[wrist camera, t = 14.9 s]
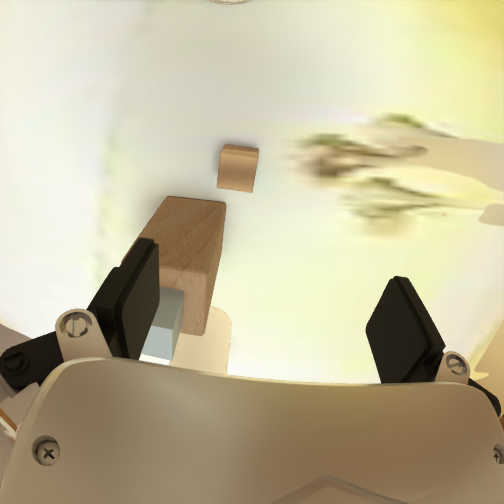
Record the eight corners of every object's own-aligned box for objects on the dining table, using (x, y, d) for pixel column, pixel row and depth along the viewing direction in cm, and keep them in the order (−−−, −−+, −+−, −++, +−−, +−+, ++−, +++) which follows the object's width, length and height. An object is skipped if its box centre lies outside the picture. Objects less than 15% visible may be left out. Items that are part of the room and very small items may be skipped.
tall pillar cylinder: (213, 346, 67) (198, 445, 45) (173, 324, 63) (144, 424, 42) (242, 322, 62) (234, 430, 41) (199, 296, 59) (173, 406, 38)
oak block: (225, 144, 44) (220, 153, 39) (258, 149, 44) (257, 158, 39) (221, 175, 46) (216, 187, 41) (253, 179, 46) (252, 192, 41)
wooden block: (166, 246, 53) (129, 325, 36) (167, 195, 48) (119, 261, 31) (221, 254, 54) (204, 338, 37) (226, 202, 49) (207, 274, 31)
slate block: (141, 282, 32) (123, 319, 27) (184, 291, 33) (172, 329, 28) (143, 314, 35) (128, 350, 30) (182, 322, 35) (172, 360, 30)
